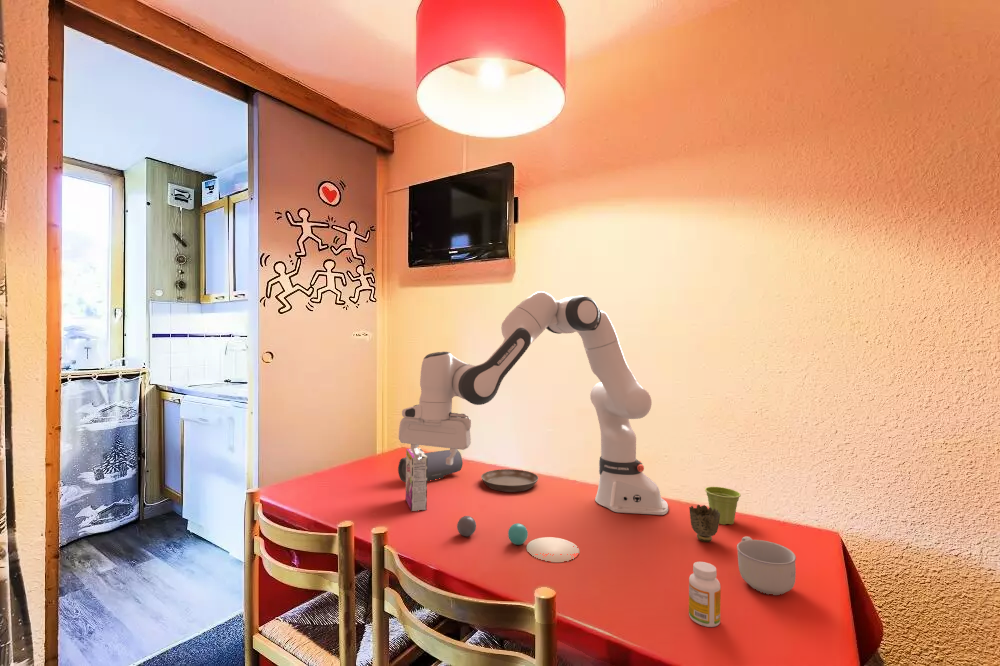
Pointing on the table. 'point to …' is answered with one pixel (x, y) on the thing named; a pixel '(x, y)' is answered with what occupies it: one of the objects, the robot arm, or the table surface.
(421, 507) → the candy bar box
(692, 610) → the supplement bottle
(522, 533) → the teal ball
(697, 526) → the cup
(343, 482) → the table surface
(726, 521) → the plant pot
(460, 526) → the gray ball
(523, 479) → the plant saucer
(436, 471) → the bluetooth speaker
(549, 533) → the table surface
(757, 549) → the teacup
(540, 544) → the cream mark
